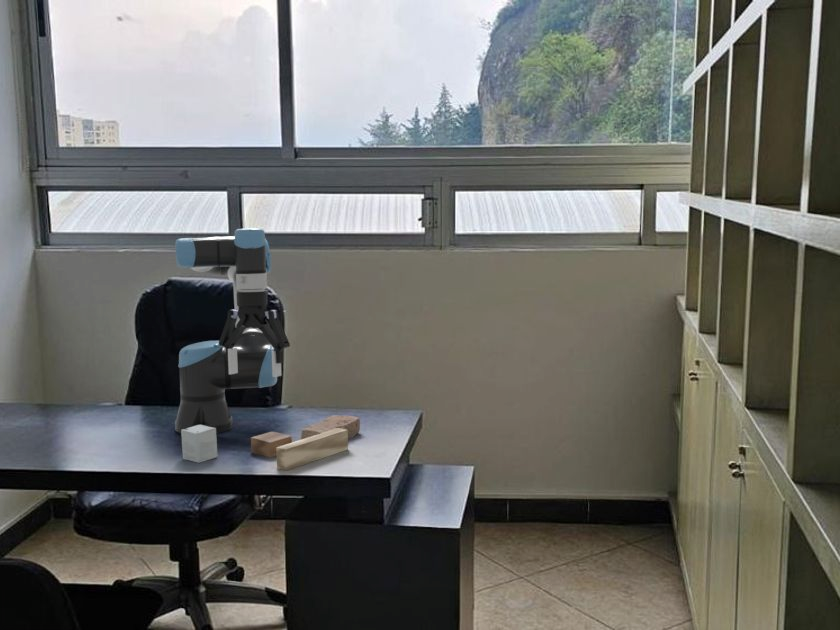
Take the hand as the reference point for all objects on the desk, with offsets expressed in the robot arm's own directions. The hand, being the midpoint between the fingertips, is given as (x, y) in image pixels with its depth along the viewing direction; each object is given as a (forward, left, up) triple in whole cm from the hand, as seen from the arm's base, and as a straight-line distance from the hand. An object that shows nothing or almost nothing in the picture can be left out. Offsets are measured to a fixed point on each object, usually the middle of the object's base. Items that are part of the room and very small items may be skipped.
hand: (254, 375), depth 223 cm
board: (+20, 0, -18) cm, 27 cm away
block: (+8, -2, -18) cm, 20 cm away
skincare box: (-2, -16, -18) cm, 24 cm away
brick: (+12, +15, -18) cm, 26 cm away
